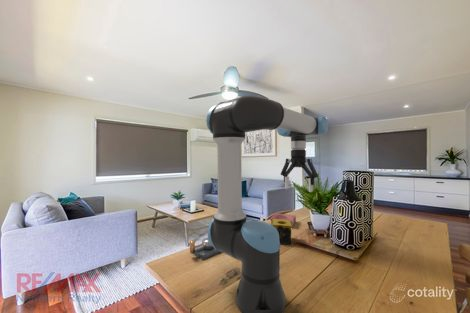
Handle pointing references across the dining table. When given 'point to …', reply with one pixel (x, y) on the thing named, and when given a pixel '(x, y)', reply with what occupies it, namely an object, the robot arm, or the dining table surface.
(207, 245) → the cam capstan
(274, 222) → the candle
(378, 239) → the dining table surface
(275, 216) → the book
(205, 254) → the level stand
